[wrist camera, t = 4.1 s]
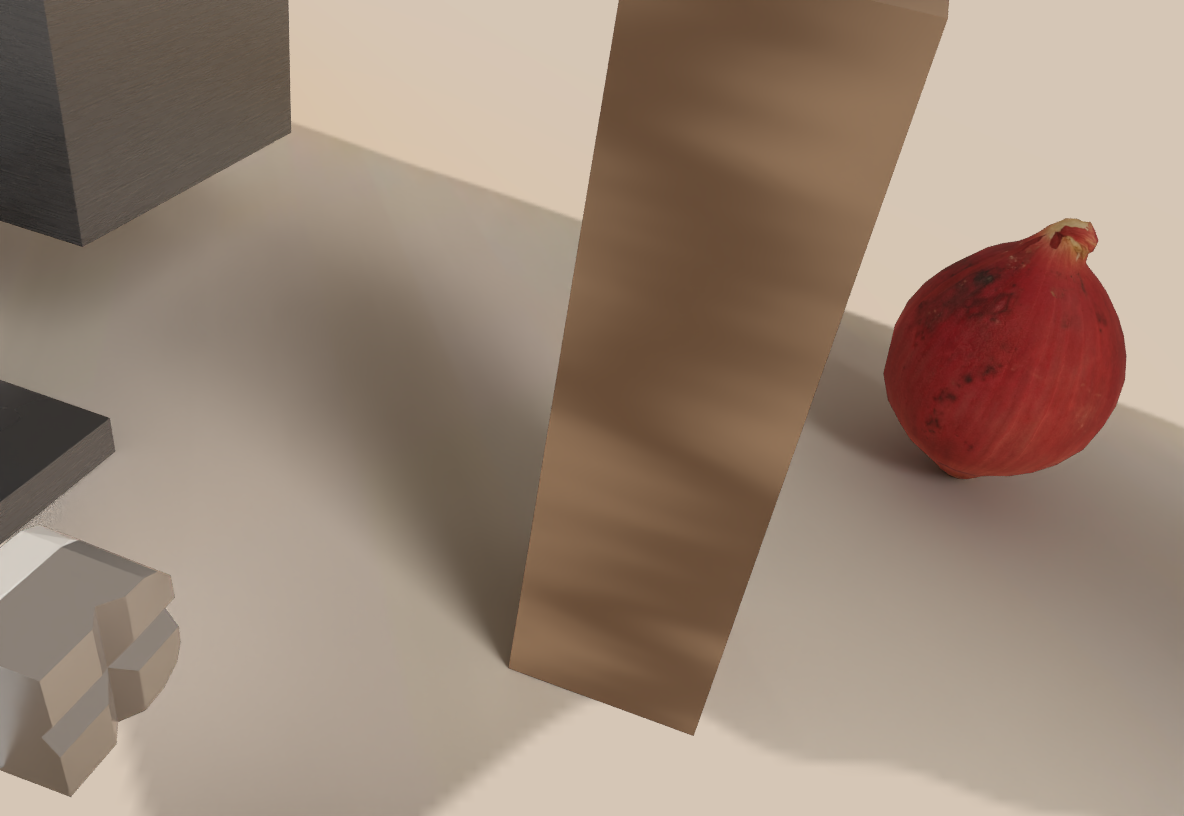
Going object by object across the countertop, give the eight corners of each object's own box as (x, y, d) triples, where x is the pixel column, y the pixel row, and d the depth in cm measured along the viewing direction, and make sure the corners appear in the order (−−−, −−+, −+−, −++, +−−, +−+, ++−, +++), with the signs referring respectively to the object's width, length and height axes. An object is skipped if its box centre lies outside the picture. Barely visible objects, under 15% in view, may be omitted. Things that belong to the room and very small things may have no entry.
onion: (890, 536, 26) (1013, 266, 21) (825, 405, 30) (915, 159, 26) (1089, 545, 27) (1248, 288, 22) (997, 416, 31) (1114, 182, 27)
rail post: (731, 600, 23) (951, -36, 15) (693, 736, 20) (947, 18, 12) (569, 545, 24) (696, -95, 16) (508, 667, 20) (628, -58, 12)
